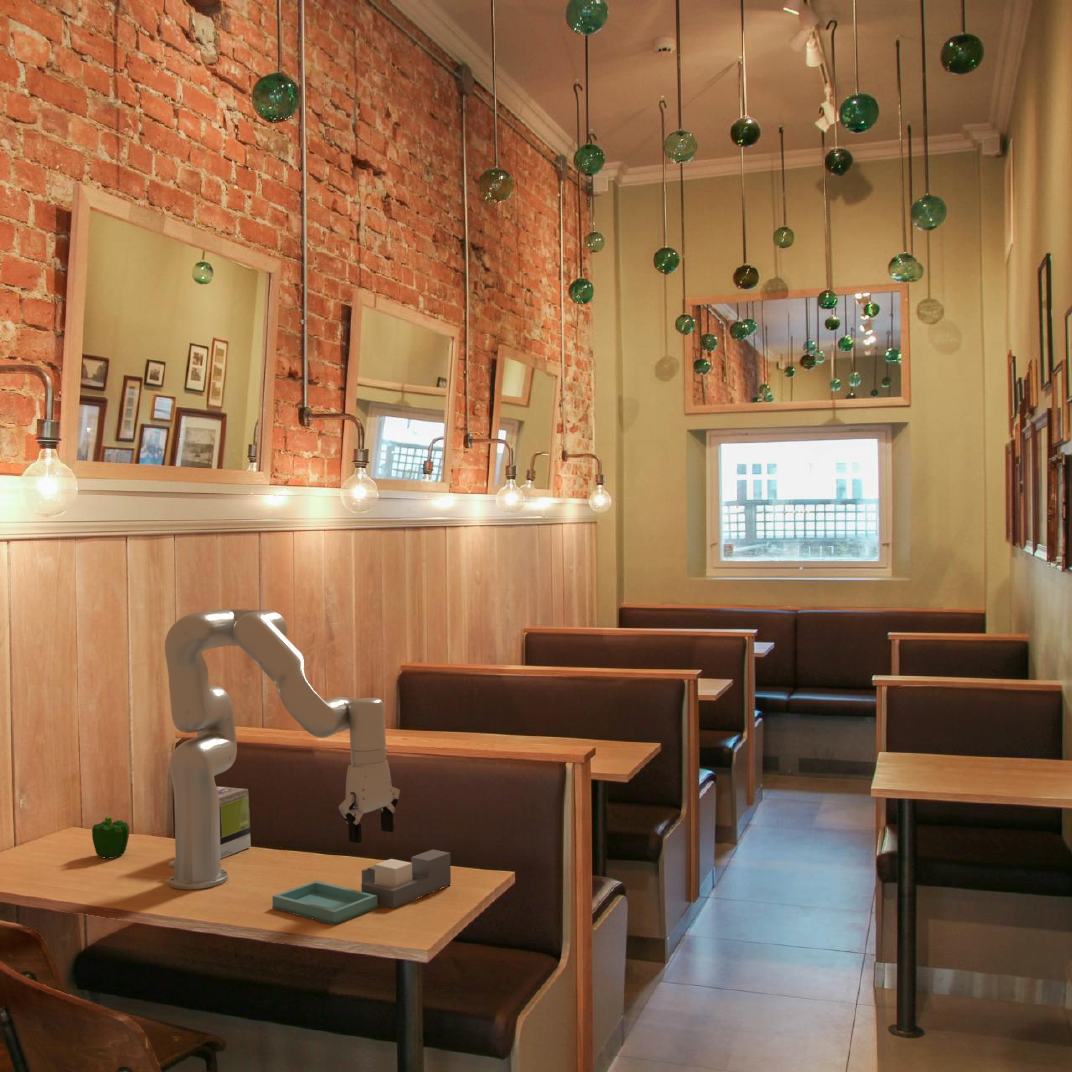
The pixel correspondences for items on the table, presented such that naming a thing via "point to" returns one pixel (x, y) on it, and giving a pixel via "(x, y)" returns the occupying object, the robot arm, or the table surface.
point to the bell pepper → (110, 837)
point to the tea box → (233, 820)
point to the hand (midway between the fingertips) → (371, 836)
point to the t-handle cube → (388, 873)
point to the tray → (325, 902)
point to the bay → (415, 880)
